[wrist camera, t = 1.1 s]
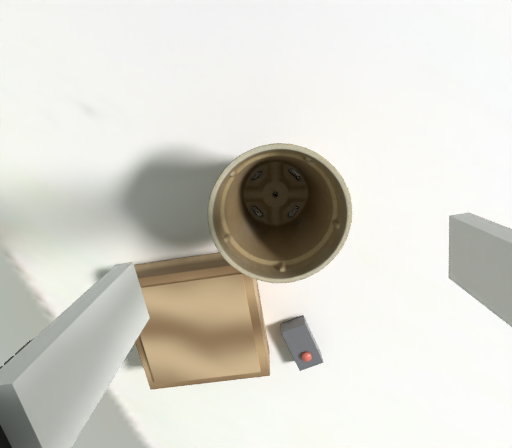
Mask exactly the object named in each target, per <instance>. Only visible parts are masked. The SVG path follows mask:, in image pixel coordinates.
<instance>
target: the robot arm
mask: <svg viewBox="0 0 512 448" xmlns="http://www.w3.org/2000/svg"><path fill="white" fill-rule="evenodd" d="M449 279H451V280H452V281H453V282H455V283H456V284H457V285H458V286H460V287H461V288H462V289H464V290H465V291H466V292H467V293H469V294H470V295H471V296H473V297H474V298H475V299H476V300H478V301H479V302H480V303H482V304H483V305H484V306H485V307H487V308H488V309H489V310H491V311H492V312H493V313H494V314H496V315H497V316H498V317H500V318H501V319H502V320H503V321H505V322H506V323H507V324H509V325H510V326H511V327H512V229H510V228H507V227H505V226H502V225H499V224H497V223H494V222H492V221H489V220H487V219H484V218H481V217H479V216H476V215H474V214H471V213H464V214H458V215H451V216H449ZM149 318H150V317H149V314H148V311H147V307H146V304H145V301H144V297H143V294H142V291H141V287H140V284H139V280H138V277H137V274H136V270H135V267H134V264H133V262H131V263H125V264H118V265H115V266H114V267H113V268H112V269H111V270H110V271H108V272H107V273H106V274H105V275H104V276H103V277H102V278H101V279H100V280H98V281H97V282H96V283H95V284H94V285H93V286H92V287H91V288H90V289H88V290H87V291H86V292H85V293H84V294H83V295H82V296H81V297H80V298H78V299H77V300H76V301H75V302H74V303H73V304H72V305H71V306H70V307H69V308H67V309H66V310H65V311H64V312H63V313H62V314H61V315H60V316H59V317H57V318H56V319H55V320H54V321H53V322H52V323H51V324H50V325H49V326H48V327H46V328H45V329H44V330H43V331H42V332H41V333H40V334H39V335H38V336H36V337H35V338H34V339H33V340H31V341H29V342H28V343H27V344H26V345H25V346H23V347H22V348H21V349H20V350H19V351H18V352H17V353H16V354H15V356H12V357H11V358H10V359H9V360H8V361H7V362H5V363H4V366H1V367H0V448H71V447H72V445H73V444H74V442H75V440H76V439H77V437H78V435H79V434H80V432H81V430H82V429H83V427H84V425H85V424H86V422H87V420H88V419H89V417H90V416H91V414H92V412H93V410H94V409H95V407H96V406H97V404H98V402H99V401H100V399H101V397H102V395H103V394H104V392H105V391H106V389H107V388H108V386H109V384H110V383H111V381H112V379H113V378H114V376H115V374H116V373H117V371H118V369H119V368H120V366H121V364H122V363H123V361H124V360H125V358H126V356H127V355H128V353H129V351H130V350H131V348H132V346H133V345H134V343H135V341H136V340H137V338H138V337H139V335H140V333H141V332H142V330H143V328H144V327H145V325H146V323H147V322H148V320H149Z"/></svg>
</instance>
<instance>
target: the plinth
mask: <svg viewBox="0 0 512 448" xmlns="http://www.w3.org/2000/svg"><path fill="white" fill-rule="evenodd" d="M134 267H135V270H136V274H137V277H138V280H139V284H140V287H141V291H142V294H143V297H144V301H145V304H146V307H147V311H148V314H149V317H150V318H149V320H148V322H147V323H146V325H145V327H144V328H143V330H142V332H141V333H140V335H139V337H138V338H137V340H136V341H135V342H136V345H137V348H138V352H139V355H140V358H141V361H142V364H143V367H144V370H145V373H146V377H147V380H148V383H149V386H150V389H159V388H168V387H176V386H185V385H193V384H202V383H210V382H219V381H227V380H236V379H245V378H253V377H262V376H270V360H269V347H268V341H267V336H266V330H265V324H264V319H263V313H262V307H261V302H260V296H259V290H258V285H257V279H254V278H251V277H249V276H247V275H245V274H243V273H241V272H239V271H238V270H237V269H235V268H234V267H233V266H231V265H230V264H229V263H228V262H227V261H226V260H225V259H224V258H223V256H222V255H221V254H220V253H214V254H207V255H200V256H193V257H186V258H179V259H172V260H165V261H158V262H151V263H144V264H137V265H134Z"/></svg>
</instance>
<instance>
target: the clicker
mask: <svg viewBox="0 0 512 448" xmlns="http://www.w3.org/2000/svg"><path fill="white" fill-rule="evenodd" d="M280 325H281V333H282V335H283V338H284V340H285V342H286V344H287V346H288V348H289V350H290V352H291V354H292V356H293V358H294V360H295V362H296V364H297V366H298V368H299V370H300V371H301V370H304V369H306V368H309V367H312V366H315V365H318V364H321V363H323V359H322V356H321V352H320V350H319V348H318V346H317V344H316V341H315V339H314V337H313V335H312V333H311V331H310V328H309V326H308V324H307V322H306V320H305V318H304V316H301V317H298V318H295V319H293V320H290V321H287V322H285V323H282V324H280Z"/></svg>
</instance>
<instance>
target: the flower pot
mask: <svg viewBox="0 0 512 448" xmlns="http://www.w3.org/2000/svg"><path fill="white" fill-rule="evenodd" d="M289 169H294V170H295V171H296V172H297V173H298V174H299V176H300V179H299V180H297V179H296V178H295V177H294V176H293V175H292V174H291V173H290V172H289ZM260 171H261V172H262V173H261V174H260V175H259V178H256V179H255V180H252V178H253V177H254V176H255V175H256V174H257V173H258V172H260ZM275 192H277V193H278V196H277V197H274V196H273V194H274V193H275ZM254 206H256V207H257V208H258V209H259V210H260V211H261V212H262V213H263V216H261V217H260V216H258V215H257V214H256V213H255V211H253V209H252V207H254ZM296 206H298V207H299V208H298V209H297V211H296V212H295V214H294V215H293V216H291V217H288V213H289V212H291V211H292V210H293V209H294V208H295V207H296ZM351 222H352V204H351V197H350V194H349V191H348V188H347V186H346V183H345V182H344V180H343V178H342V176H341V175H340V174H339V172H338V171H337V170H336V169H335V167H334V166H332V165H331V164H330V163H329V162H328V161H327V160H326V159H325V158H323V157H322V156H320V155H319V154H317V153H315V152H313V151H311V150H309V149H307V148H304V147H301V146H297V145H292V144H282V143H277V144H268V145H264V146H260V147H257V148H254V149H251V150H249V151H247V152H245V153H244V154H242V155H240V156H239V157H237V158H236V159H235V160H233V161H232V162H231V163H230V164H229V165H228V166H227V167H226V168H225V169H224V171H223V172H222V173H221V174H220V176H219V178H218V179H217V181H216V183H215V185H214V187H213V189H212V192H211V195H210V199H209V205H208V224H209V228H210V233H211V236H212V239H213V241H214V244H215V246H216V247H217V249H218V251H219V252H220V254H221V255H222V256H223V258H224V259H225V260H226V261H227V262H228V263H229V264H230V265H231V266H233V267H234V268H235V269H237V270H238V271H239V272H241V273H243V274H245V275H247V276H249V277H251V278H254V279H258V280H261V281H265V282H270V283H289V282H294V281H298V280H302V279H305V278H307V277H309V276H311V275H313V274H315V273H317V272H319V271H320V270H321V269H323V268H324V267H325V266H327V265H328V264H329V263H330V262H331V261H332V260H333V259H334V258H335V256H336V255H337V254H338V253H339V251H340V250H341V248H342V247H343V245H344V243H345V241H346V239H347V236H348V233H349V230H350V226H351Z"/></svg>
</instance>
